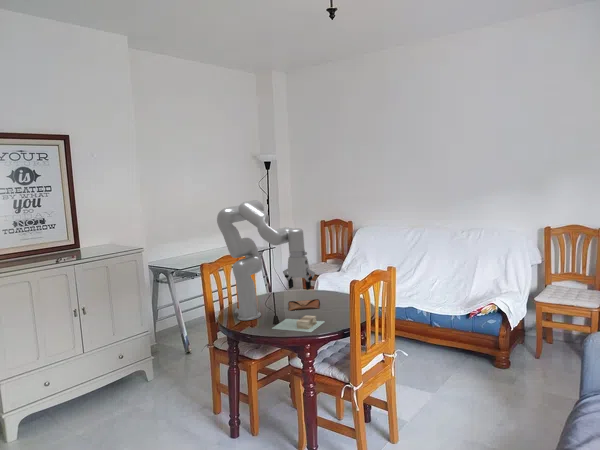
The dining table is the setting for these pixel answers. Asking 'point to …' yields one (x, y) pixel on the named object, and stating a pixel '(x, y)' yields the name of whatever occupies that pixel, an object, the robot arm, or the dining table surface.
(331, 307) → the dining table surface
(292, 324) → the mat
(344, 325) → the dining table surface
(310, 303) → the sunglasses case
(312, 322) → the card box
